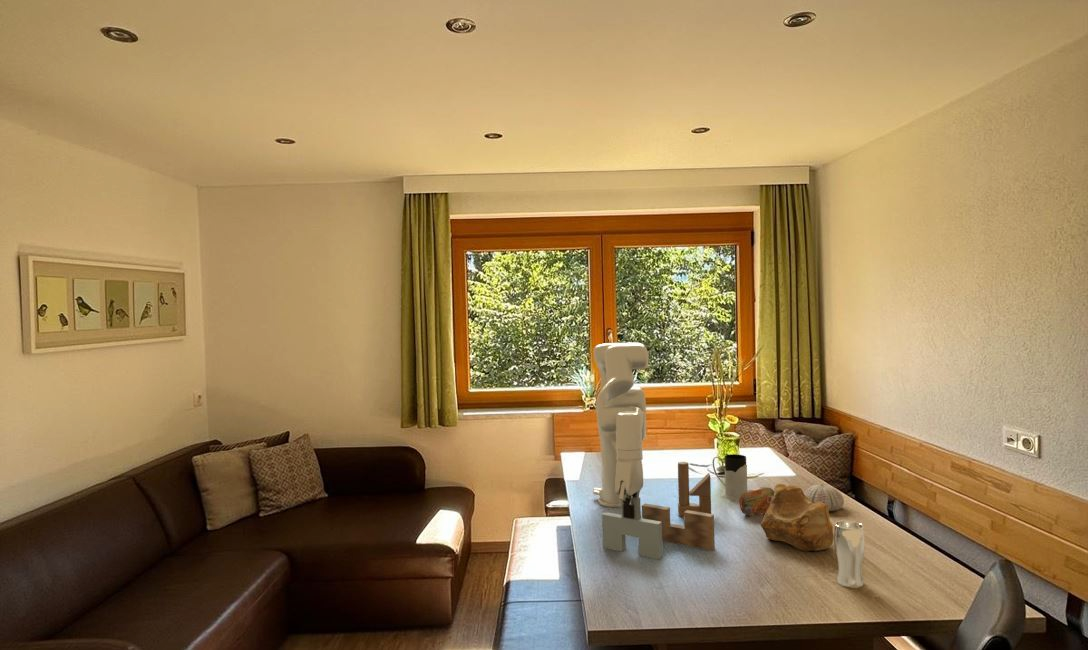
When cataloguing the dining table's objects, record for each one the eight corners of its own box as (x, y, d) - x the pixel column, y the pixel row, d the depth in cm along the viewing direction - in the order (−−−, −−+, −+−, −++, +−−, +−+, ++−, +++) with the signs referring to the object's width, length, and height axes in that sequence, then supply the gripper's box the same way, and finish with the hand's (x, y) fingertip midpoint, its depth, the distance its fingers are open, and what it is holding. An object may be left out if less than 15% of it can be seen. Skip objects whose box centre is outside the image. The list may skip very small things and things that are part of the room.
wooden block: (711, 517, 213) (710, 464, 212) (679, 516, 214) (677, 464, 213) (710, 513, 216) (708, 461, 216) (678, 513, 218) (676, 461, 217)
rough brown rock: (746, 532, 200) (742, 486, 199) (794, 523, 203) (790, 478, 201) (787, 564, 177) (783, 512, 176) (840, 553, 180) (836, 502, 179)
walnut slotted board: (642, 537, 196) (641, 505, 196) (645, 534, 198) (644, 503, 198) (712, 550, 184) (711, 516, 184) (714, 547, 186) (713, 514, 186)
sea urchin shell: (800, 511, 216) (799, 488, 216) (804, 499, 228) (803, 477, 228) (843, 516, 210) (842, 492, 209) (844, 504, 222) (844, 481, 221)
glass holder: (740, 502, 227) (739, 460, 227) (706, 494, 238) (706, 454, 237) (753, 496, 233) (752, 456, 233) (720, 489, 244) (719, 450, 243)
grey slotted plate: (603, 547, 189) (601, 494, 189) (606, 544, 191) (605, 492, 191) (659, 559, 179) (657, 503, 179) (662, 556, 181) (661, 501, 181)
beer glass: (829, 577, 164) (828, 520, 163) (855, 576, 164) (854, 519, 164) (844, 589, 157) (843, 530, 156) (871, 588, 157) (870, 528, 157)
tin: (744, 518, 210) (744, 493, 210) (737, 515, 213) (737, 491, 213) (777, 510, 217) (776, 486, 217) (770, 508, 220) (769, 484, 220)
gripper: (629, 447, 193) (631, 506, 194) (605, 458, 180) (607, 522, 180) (652, 449, 189) (654, 510, 189) (629, 461, 175) (631, 526, 176)
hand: (631, 515), depth 185 cm, fingers closed on grey slotted plate, 2 cm apart
